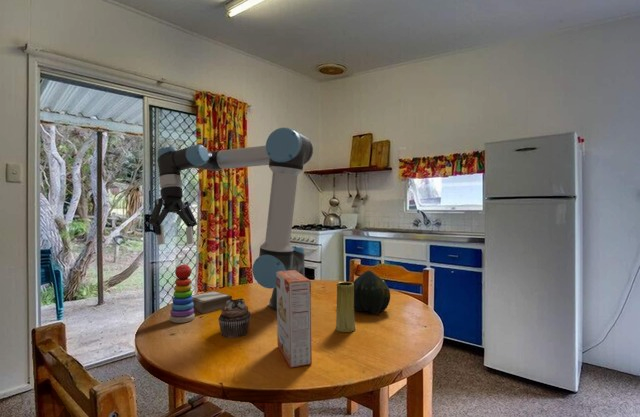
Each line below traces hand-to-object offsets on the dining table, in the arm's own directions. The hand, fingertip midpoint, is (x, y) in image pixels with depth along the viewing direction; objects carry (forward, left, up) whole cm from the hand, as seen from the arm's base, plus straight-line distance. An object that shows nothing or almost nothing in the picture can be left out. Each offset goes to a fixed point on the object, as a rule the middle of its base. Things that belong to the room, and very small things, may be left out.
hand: (176, 244), depth 131 cm
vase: (-59, -24, -25) cm, 68 cm away
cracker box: (-60, 0, -25) cm, 65 cm away
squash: (-54, -45, -25) cm, 75 cm away
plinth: (-5, -10, -25) cm, 27 cm away
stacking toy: (-11, +4, -25) cm, 28 cm away
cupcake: (-35, 0, -25) cm, 43 cm away
